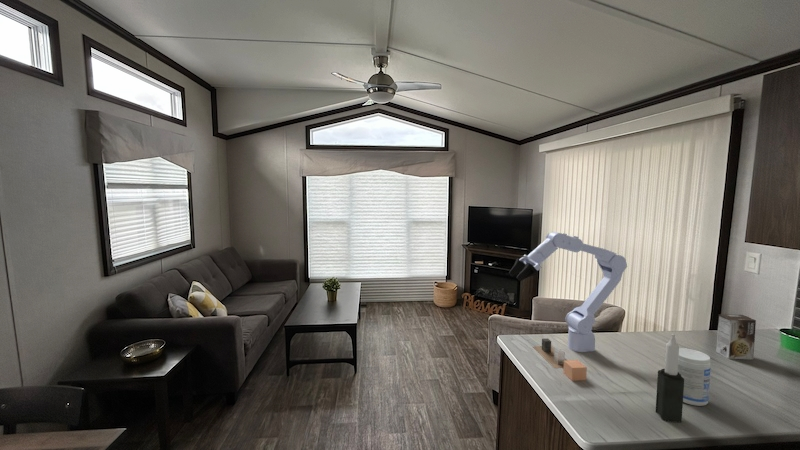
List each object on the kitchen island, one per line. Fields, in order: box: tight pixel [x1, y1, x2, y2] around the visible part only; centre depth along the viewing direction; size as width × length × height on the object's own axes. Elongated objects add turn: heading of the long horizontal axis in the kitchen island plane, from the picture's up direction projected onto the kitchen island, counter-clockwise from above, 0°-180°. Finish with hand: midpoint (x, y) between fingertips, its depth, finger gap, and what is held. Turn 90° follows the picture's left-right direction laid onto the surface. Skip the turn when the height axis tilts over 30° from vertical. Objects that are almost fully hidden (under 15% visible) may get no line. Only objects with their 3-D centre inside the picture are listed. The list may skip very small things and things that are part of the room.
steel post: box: [554, 348, 566, 364], centre depth 129 cm, size 3×3×4 cm
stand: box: [532, 338, 569, 369], centre depth 134 cm, size 8×18×6 cm, turn 4°
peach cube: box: [563, 359, 588, 382], centre depth 119 cm, size 5×5×6 cm
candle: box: [655, 333, 684, 423], centre depth 99 cm, size 5×5×25 cm
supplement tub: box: [678, 347, 712, 407], centre depth 108 cm, size 10×10×15 cm
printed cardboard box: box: [715, 313, 757, 360], centre depth 136 cm, size 9×6×16 cm
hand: (514, 277), depth 137 cm, fingers open, 7 cm apart
